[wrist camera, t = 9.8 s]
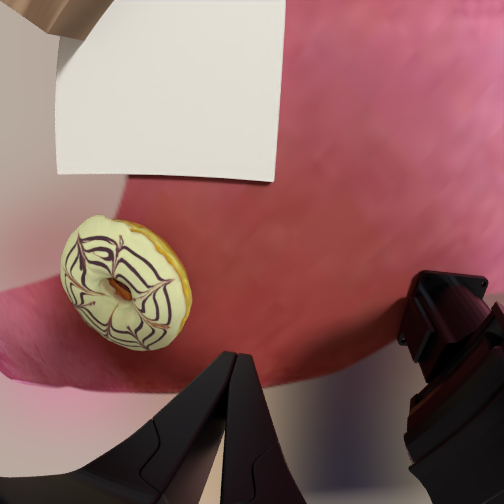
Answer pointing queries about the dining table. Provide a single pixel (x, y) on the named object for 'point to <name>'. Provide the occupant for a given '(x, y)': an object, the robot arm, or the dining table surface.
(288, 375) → the dining table surface
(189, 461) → the robot arm
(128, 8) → the rubber mat
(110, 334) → the decorated donut
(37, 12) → the walnut block
